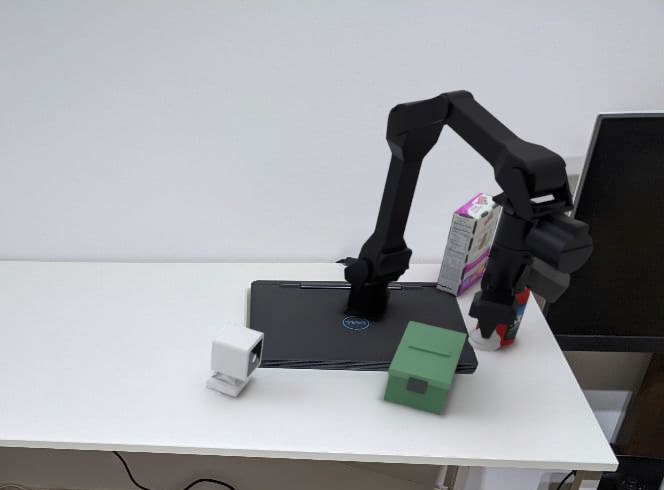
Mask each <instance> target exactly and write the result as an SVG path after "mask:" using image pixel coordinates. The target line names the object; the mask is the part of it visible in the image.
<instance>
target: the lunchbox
mask: <svg viewBox="0 0 664 490" xmlns="http://www.w3.org/2000/svg"><path fill="white" fill-rule="evenodd" d="M467 336H468V333H464V332H460V331H456V330H451V329H448V328H443V327H439V326H435V325H430V324H427V323H422V322H417V321H413V320H409V322H408V324H407V326H406V328H405V331H404V333H403V334H402V338H401V340H400V342H399V344H398V346H397V349H396V351H395V354H394V356H393V358H392V360H391V362H390V365H389V367H388V371H387V375H388V378H387V382H386V387H385V391H384V395H383V401H386V402H389V403H390V402H391V403H393V404H398V405H402V406H405V407H409V408H412V409H417V410H419V411H420V410H421V411H425V412H427V413H432V414H434V415H435V414H436V415H439V416H440V415H442V411H443V408H444V405H445V402H446V399H447V396H448V393H449V390H450V387H451V386H452V385H451V384H452V381H453V378H454V375H455V372H456V370H457V366H458V363H459V360H460V357H461V354H462V351H463V348H464V346H465V342H466V339H467Z"/></svg>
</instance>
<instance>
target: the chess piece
mask: <svg viewBox="0 0 664 490" xmlns="http://www.w3.org/2000/svg"><path fill="white" fill-rule="evenodd" d="M467 339H468V340H467V342H468V343H469V344H470V346H471V347H472V348H474V349H476V350H479V351H482V352H493V351H496V350H498V349H499V348H501V347H500V341H501V338H500V336H499V335H498V334H497V333H496V329H495V331H494V332H493V334H492V335H491V337H490V338H489V339H485V338H482V337H481V332H480V328H479V329H477V330H476V329H474V330H472V331H471V333H470V335H469V336H468V338H467Z"/></svg>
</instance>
